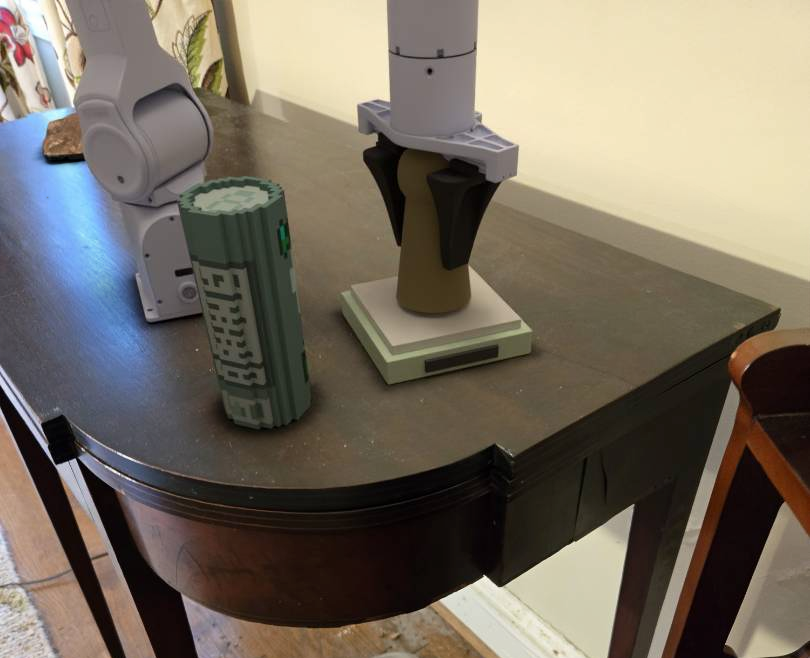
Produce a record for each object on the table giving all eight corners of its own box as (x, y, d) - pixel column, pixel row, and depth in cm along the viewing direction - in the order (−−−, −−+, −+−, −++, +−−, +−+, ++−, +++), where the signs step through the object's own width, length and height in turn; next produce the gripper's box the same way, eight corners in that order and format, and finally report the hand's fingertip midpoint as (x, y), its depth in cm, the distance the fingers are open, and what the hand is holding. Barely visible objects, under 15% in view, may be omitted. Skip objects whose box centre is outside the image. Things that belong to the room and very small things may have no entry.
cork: (465, 315, 59) (470, 163, 51) (388, 309, 60) (381, 159, 52) (476, 280, 63) (482, 134, 55) (404, 275, 64) (400, 131, 56)
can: (324, 390, 58) (299, 183, 47) (283, 436, 54) (247, 220, 43) (254, 374, 60) (216, 172, 49) (210, 417, 56) (158, 206, 45)
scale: (532, 355, 61) (535, 323, 59) (389, 387, 58) (387, 354, 56) (470, 288, 69) (471, 258, 67) (342, 313, 66) (339, 283, 64)
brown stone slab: (38, 139, 103) (28, 109, 100) (134, 125, 106) (127, 96, 103) (46, 166, 95) (35, 134, 92) (149, 149, 98) (142, 118, 96)
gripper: (559, 56, 47) (538, 268, 57) (407, 21, 55) (411, 212, 65) (476, 78, 44) (468, 299, 54) (327, 38, 52) (344, 236, 62)
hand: (432, 254), depth 59 cm, fingers closed on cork, 5 cm apart
